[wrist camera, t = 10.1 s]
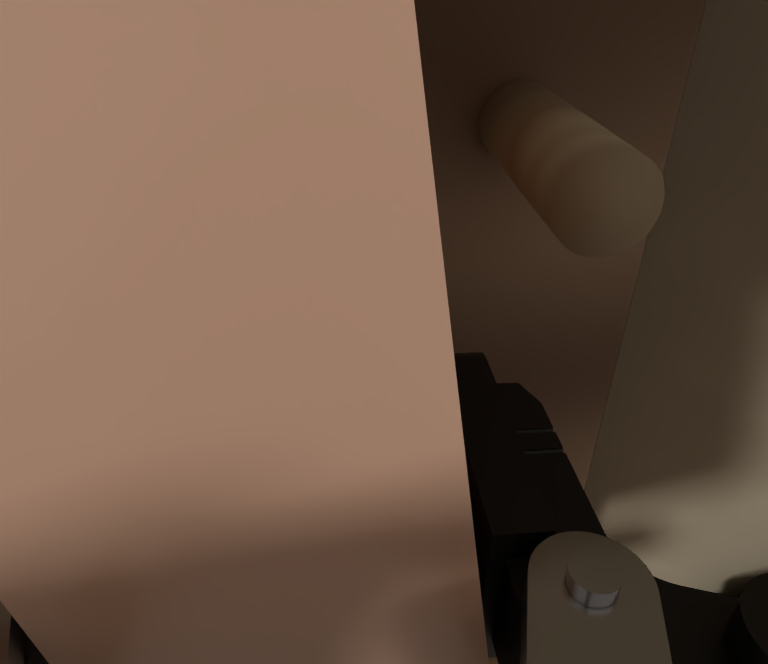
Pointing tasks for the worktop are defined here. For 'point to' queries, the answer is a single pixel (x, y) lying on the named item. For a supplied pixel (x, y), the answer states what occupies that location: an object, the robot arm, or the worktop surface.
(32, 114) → the pinkish tan rectangular block
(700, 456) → the worktop surface
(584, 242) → the drying rack
